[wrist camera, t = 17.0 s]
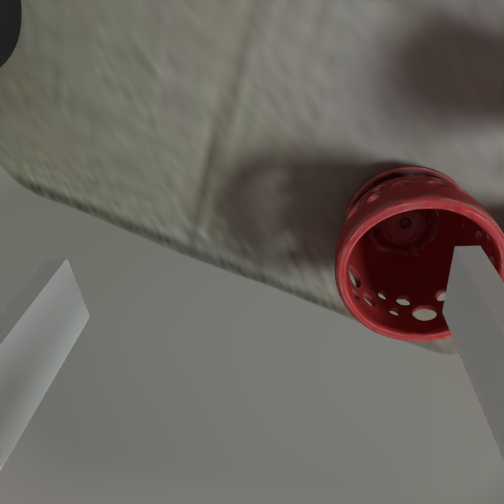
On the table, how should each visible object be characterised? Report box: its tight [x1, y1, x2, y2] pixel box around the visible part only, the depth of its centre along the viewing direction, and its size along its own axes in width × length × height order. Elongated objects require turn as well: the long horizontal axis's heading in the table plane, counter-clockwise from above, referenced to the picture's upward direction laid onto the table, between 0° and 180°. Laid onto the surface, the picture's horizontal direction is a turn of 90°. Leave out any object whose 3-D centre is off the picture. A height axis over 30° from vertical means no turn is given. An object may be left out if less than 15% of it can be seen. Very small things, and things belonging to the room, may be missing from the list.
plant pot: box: [335, 166, 504, 341], centre depth 39 cm, size 13×13×12 cm
